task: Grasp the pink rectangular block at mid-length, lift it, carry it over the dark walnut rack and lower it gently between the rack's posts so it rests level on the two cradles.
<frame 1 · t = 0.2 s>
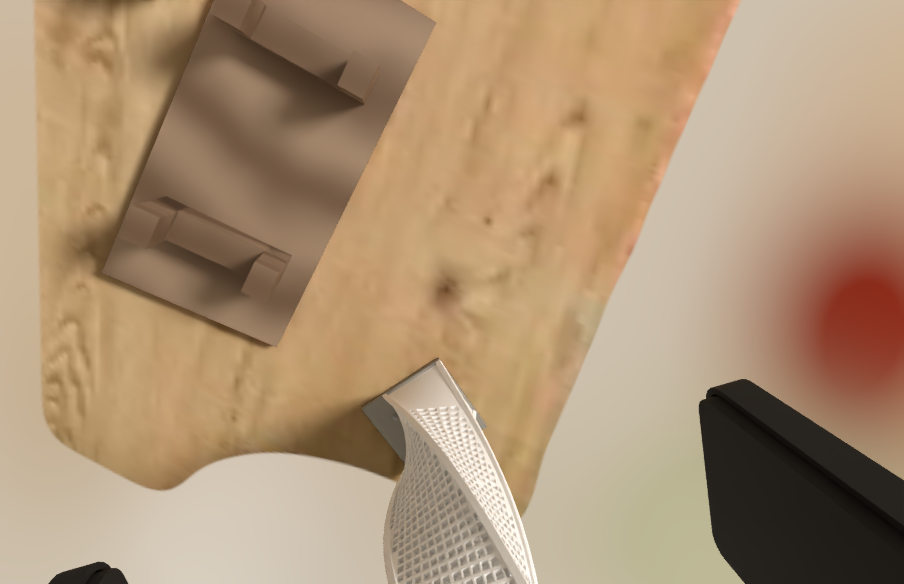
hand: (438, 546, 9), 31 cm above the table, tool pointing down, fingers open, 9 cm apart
rack: (268, 149, 35), on the table
skyscraper: (425, 403, 42), on the table
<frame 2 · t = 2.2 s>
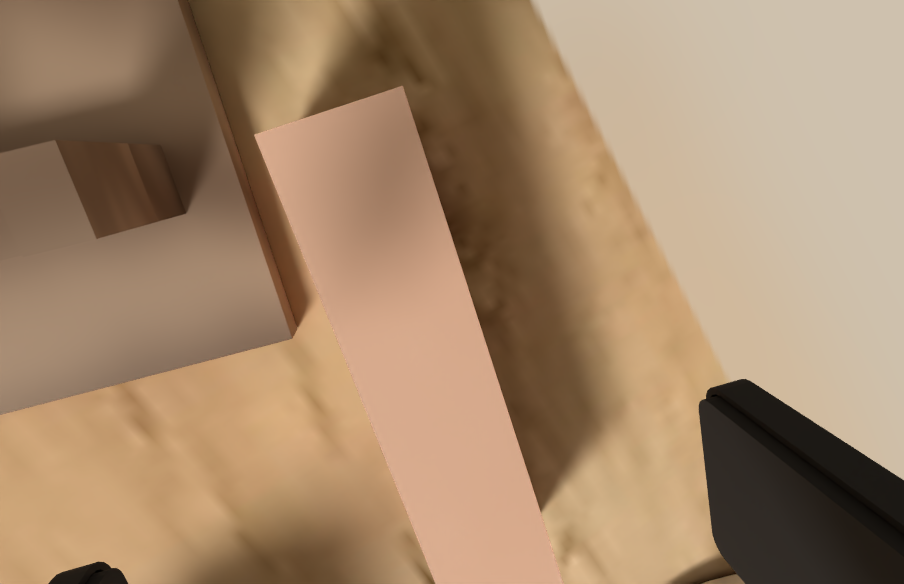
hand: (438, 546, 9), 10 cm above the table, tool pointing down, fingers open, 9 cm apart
pink rectangular block: (426, 349, 19), on the table
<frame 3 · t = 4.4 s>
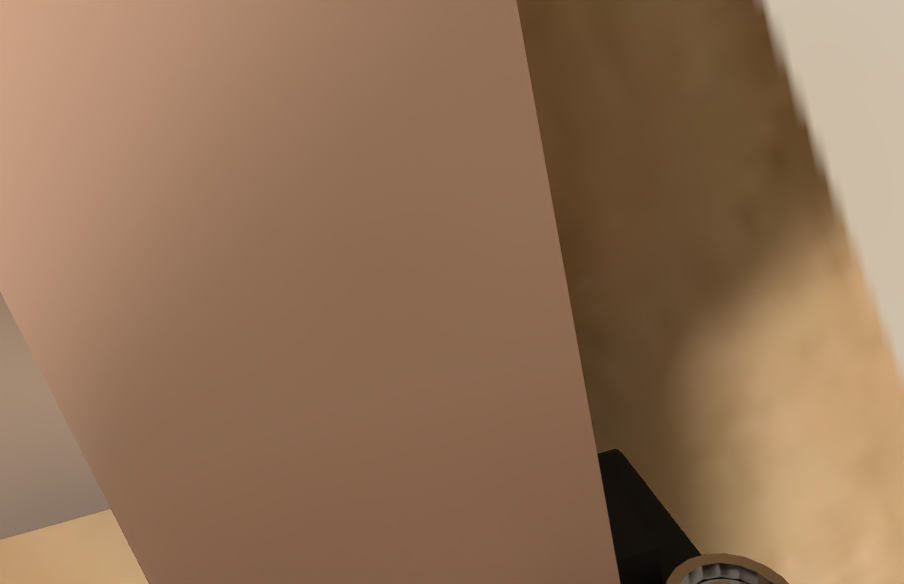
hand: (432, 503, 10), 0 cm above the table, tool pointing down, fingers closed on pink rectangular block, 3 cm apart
pink rectangular block: (429, 489, 10), on the table, touching gripper
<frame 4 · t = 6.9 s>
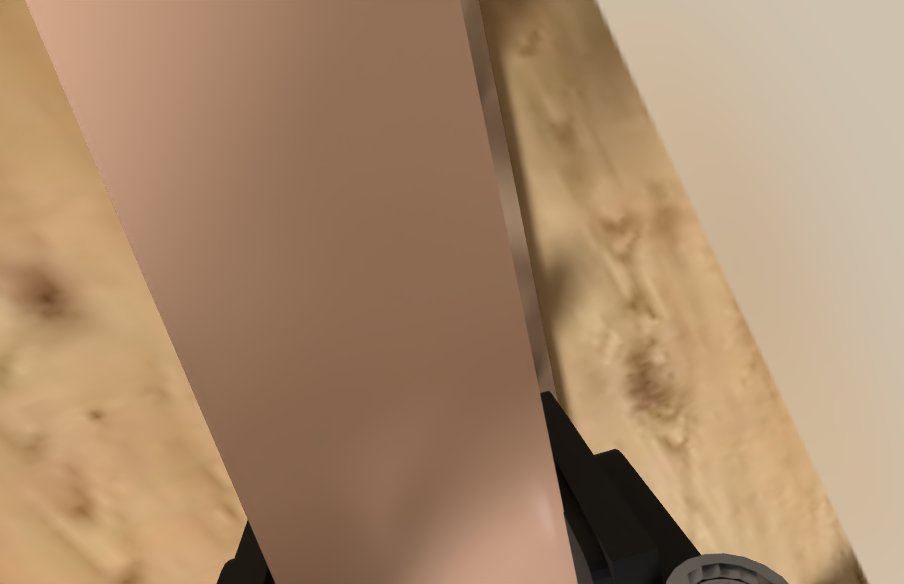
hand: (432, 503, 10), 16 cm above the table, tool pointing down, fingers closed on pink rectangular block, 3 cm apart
rack: (399, 278, 25), on the table
pink rectangular block: (420, 429, 12), point 14 cm above the table, touching gripper
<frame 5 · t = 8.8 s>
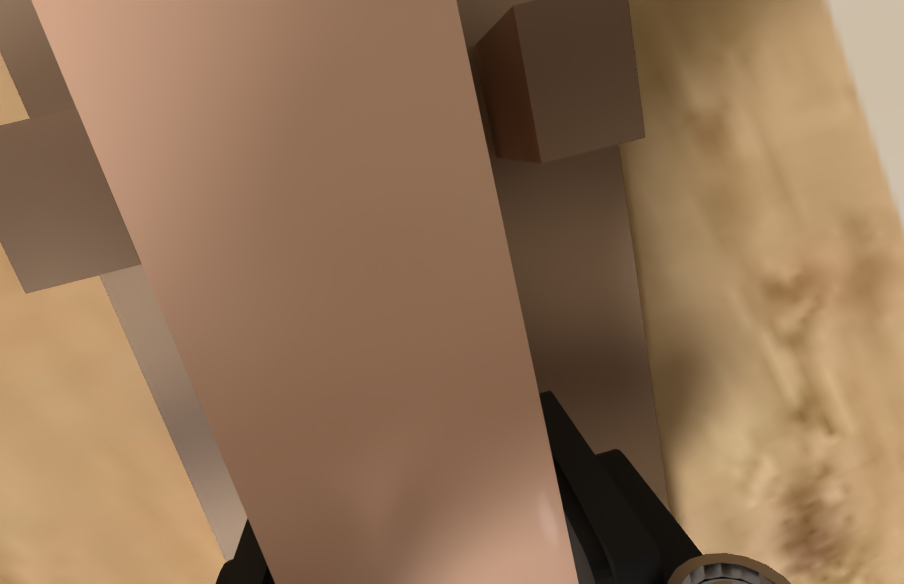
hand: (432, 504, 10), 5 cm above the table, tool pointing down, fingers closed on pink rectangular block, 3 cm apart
rack: (417, 383, 15), on the table
pink rectangular block: (421, 433, 12), point 3 cm above the table, touching gripper, rack
when the fingers open (5 cm above the table, at t = 9.6 s): pink rectangular block stays where it is, resting on rack.
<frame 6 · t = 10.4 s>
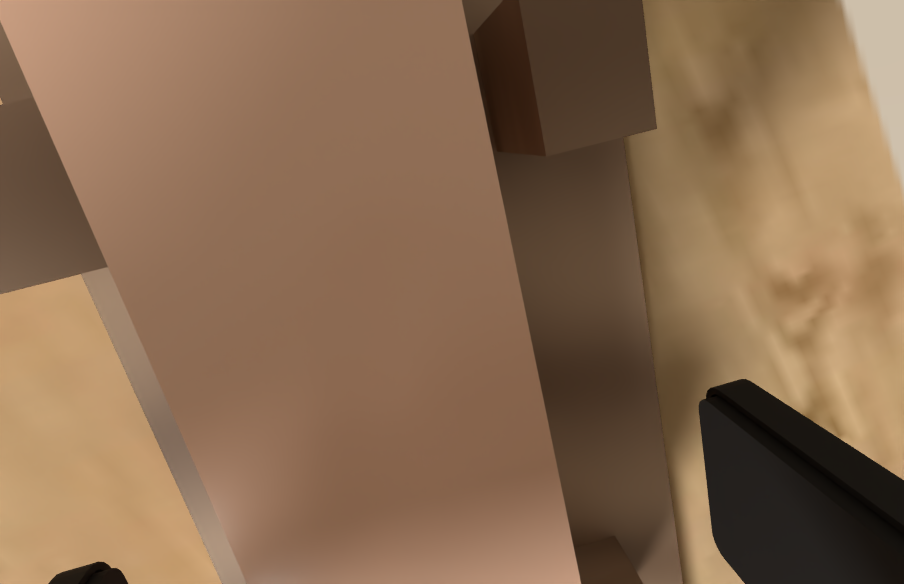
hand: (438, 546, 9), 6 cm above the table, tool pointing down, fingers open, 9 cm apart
rack: (414, 386, 14), on the table
pink rectangular block: (418, 439, 11), point 3 cm above the table, touching rack
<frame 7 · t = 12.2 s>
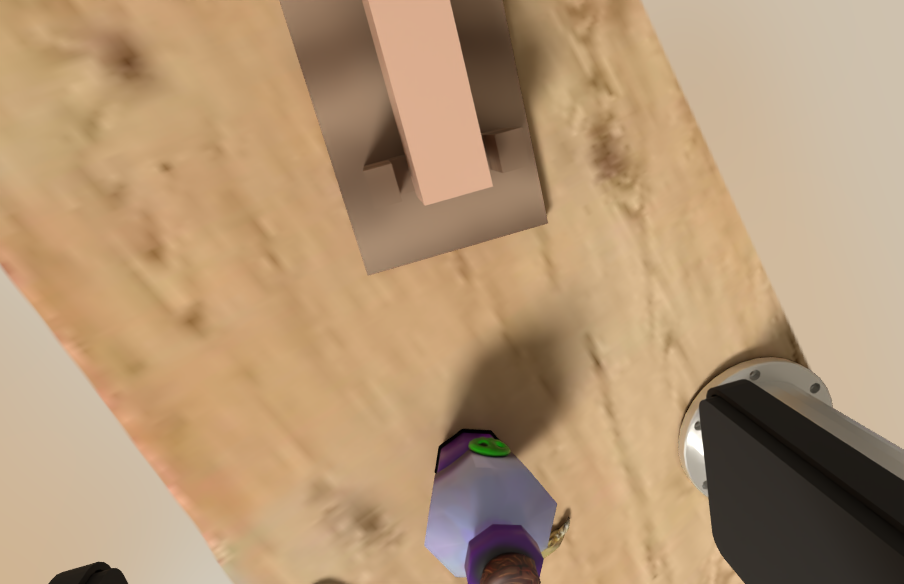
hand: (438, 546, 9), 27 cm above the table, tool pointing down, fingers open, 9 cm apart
rack: (405, 52, 32), on the table
potion bottle: (470, 459, 40), on the table
pink rectangular block: (407, 39, 29), point 3 cm above the table, touching rack
animal bone: (452, 578, 44), on the table
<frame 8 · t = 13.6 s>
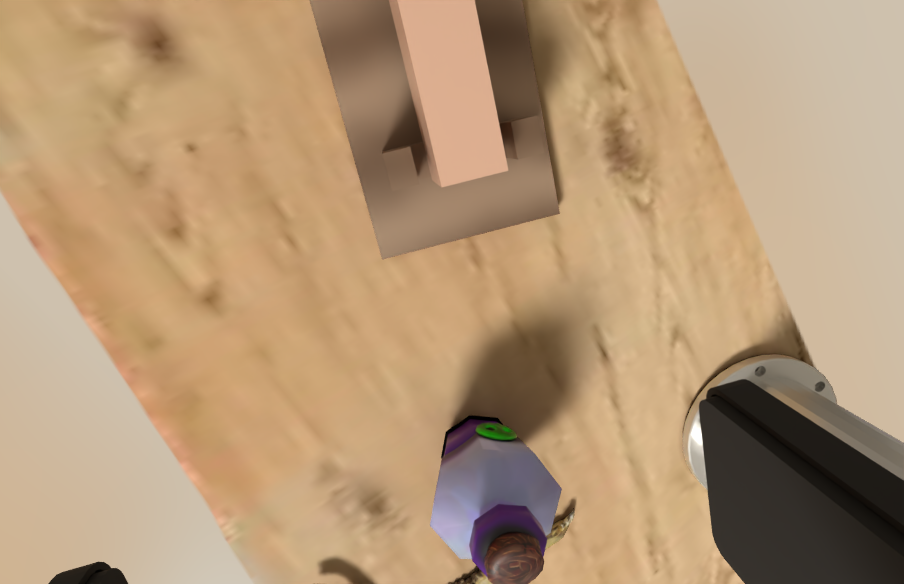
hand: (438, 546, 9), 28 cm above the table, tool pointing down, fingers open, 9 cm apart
rack: (426, 43, 33), on the table
potion bottle: (477, 446, 41), on the table
pink rectangular block: (428, 28, 30), point 3 cm above the table, touching rack
animal bone: (456, 565, 44), on the table
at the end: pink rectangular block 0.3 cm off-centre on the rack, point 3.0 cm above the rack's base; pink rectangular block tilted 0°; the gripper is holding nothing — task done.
